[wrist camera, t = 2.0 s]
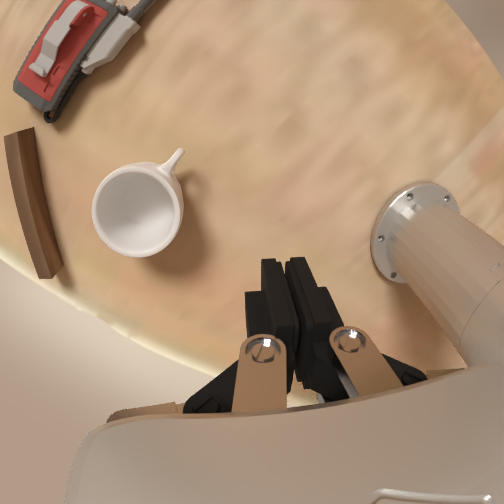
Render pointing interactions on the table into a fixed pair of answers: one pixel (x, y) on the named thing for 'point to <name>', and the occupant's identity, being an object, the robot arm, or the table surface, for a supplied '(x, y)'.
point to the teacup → (139, 207)
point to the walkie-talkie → (74, 50)
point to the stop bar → (32, 202)
